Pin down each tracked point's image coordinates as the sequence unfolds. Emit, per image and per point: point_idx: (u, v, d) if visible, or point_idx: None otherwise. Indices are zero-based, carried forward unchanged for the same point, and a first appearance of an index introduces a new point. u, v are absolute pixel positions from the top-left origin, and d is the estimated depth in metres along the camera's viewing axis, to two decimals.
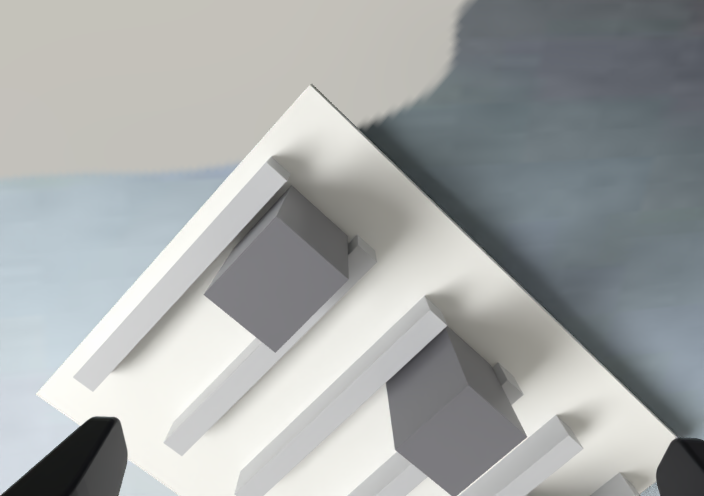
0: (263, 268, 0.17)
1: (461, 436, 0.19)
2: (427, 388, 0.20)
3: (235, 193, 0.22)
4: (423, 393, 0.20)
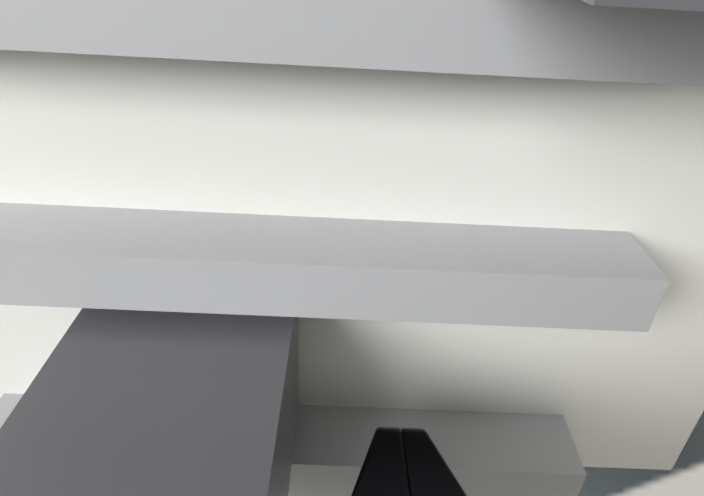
0: None
1: None
2: None
3: None
4: None
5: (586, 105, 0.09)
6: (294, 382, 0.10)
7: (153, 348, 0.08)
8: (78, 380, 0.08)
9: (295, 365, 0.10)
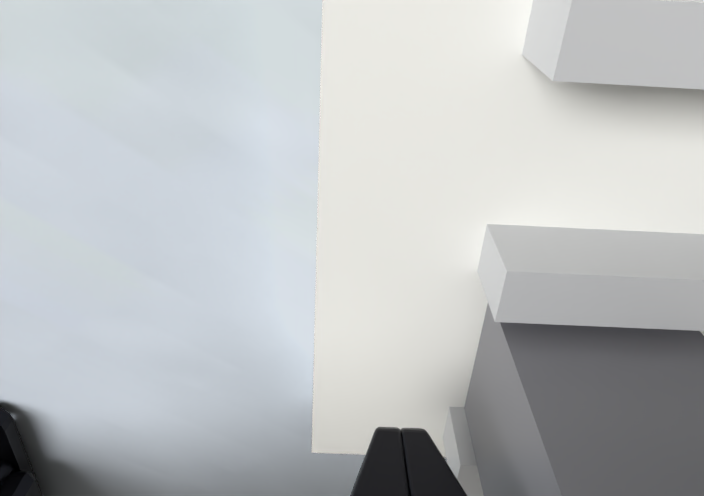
0: None
1: None
2: None
3: None
4: None
5: None
6: None
7: (603, 362, 0.09)
8: (566, 394, 0.08)
9: None
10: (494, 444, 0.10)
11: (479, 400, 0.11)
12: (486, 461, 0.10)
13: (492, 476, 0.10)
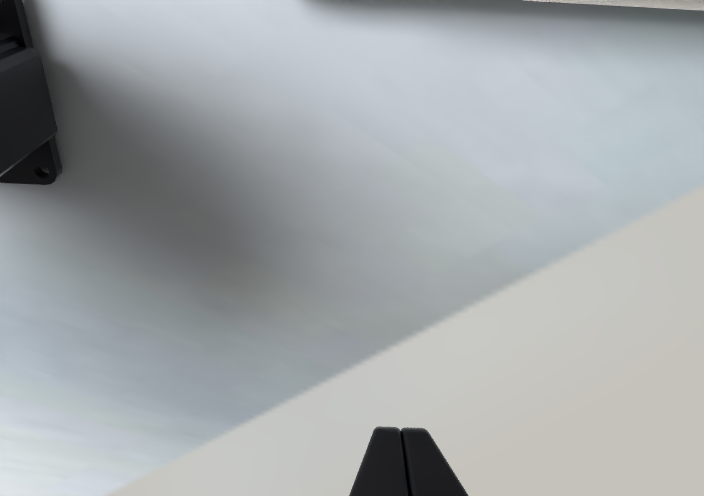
0: None
1: None
2: None
3: None
4: None
5: None
6: None
7: None
8: None
9: None
10: None
11: None
12: None
13: None
